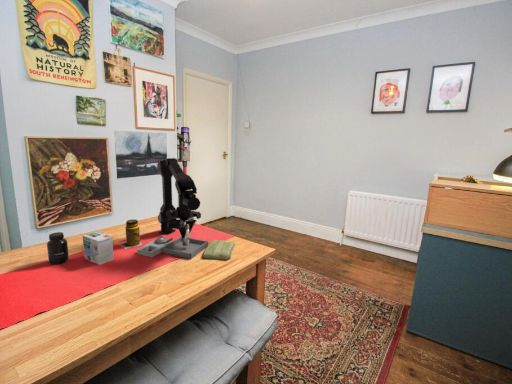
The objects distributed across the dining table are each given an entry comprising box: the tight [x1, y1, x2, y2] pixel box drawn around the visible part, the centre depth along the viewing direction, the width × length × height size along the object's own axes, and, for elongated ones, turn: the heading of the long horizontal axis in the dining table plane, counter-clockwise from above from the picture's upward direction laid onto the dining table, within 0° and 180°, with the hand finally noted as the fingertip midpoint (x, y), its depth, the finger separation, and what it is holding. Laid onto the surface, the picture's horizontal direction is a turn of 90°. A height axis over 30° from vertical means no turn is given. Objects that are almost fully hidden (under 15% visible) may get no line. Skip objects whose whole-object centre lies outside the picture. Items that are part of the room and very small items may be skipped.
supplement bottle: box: [46, 231, 70, 265], centre depth 110 cm, size 7×7×12 cm
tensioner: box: [136, 235, 174, 258], centre depth 127 cm, size 16×9×3 cm, turn 161°
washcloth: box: [203, 239, 236, 261], centre depth 127 cm, size 13×18×3 cm
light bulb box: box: [82, 230, 115, 266], centre depth 114 cm, size 11×7×11 cm, turn 62°
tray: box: [161, 235, 209, 260], centre depth 127 cm, size 15×15×2 cm
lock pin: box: [182, 223, 191, 246], centre depth 126 cm, size 3×3×10 cm
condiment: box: [119, 219, 144, 250], centre depth 129 cm, size 7×8×12 cm
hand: (185, 236), depth 126 cm, fingers closed on lock pin, 3 cm apart
